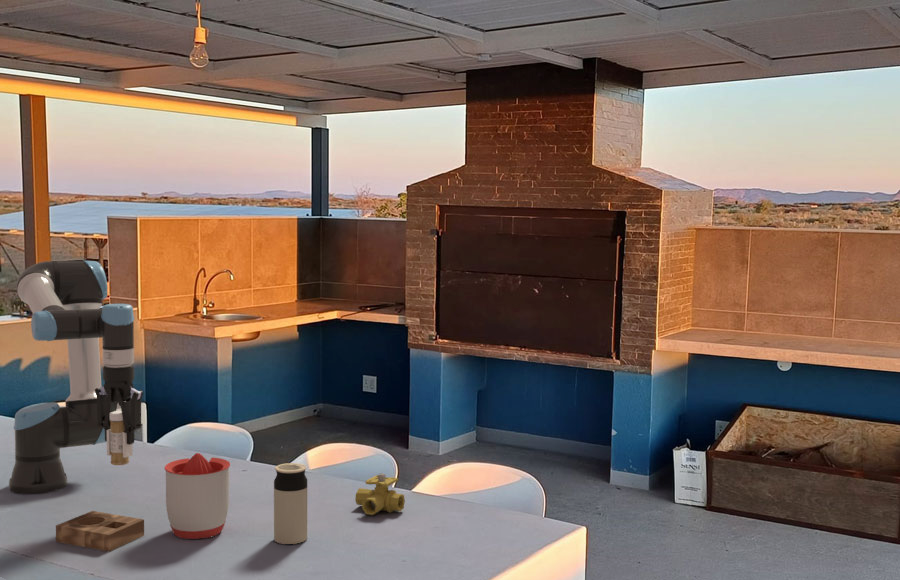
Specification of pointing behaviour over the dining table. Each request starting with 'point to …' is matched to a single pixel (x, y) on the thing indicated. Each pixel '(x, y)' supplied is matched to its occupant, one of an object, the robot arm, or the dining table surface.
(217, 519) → the citrus juicer
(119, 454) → the sprinkles bottle
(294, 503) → the travel mug
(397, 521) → the dining table surface
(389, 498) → the ball valve
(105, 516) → the socket block
